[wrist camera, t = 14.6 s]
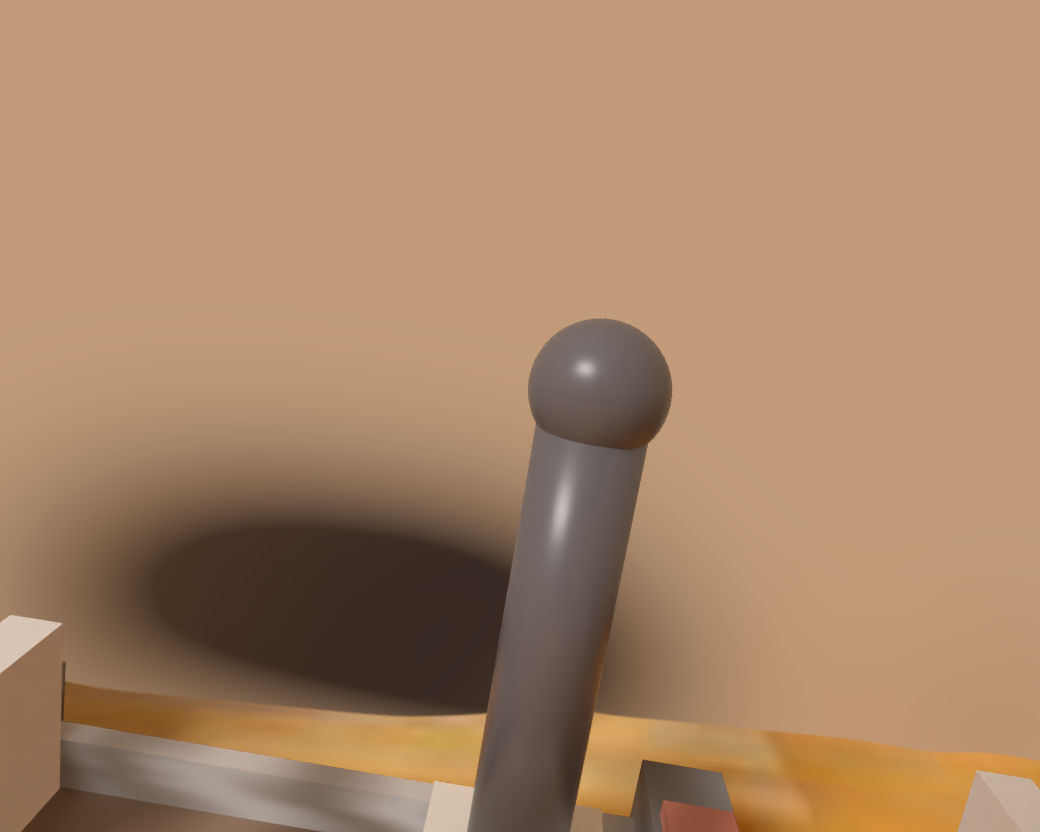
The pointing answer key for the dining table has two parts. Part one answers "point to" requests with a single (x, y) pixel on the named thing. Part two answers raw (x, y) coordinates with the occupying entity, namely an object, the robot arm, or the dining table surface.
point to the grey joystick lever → (563, 579)
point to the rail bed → (298, 792)
